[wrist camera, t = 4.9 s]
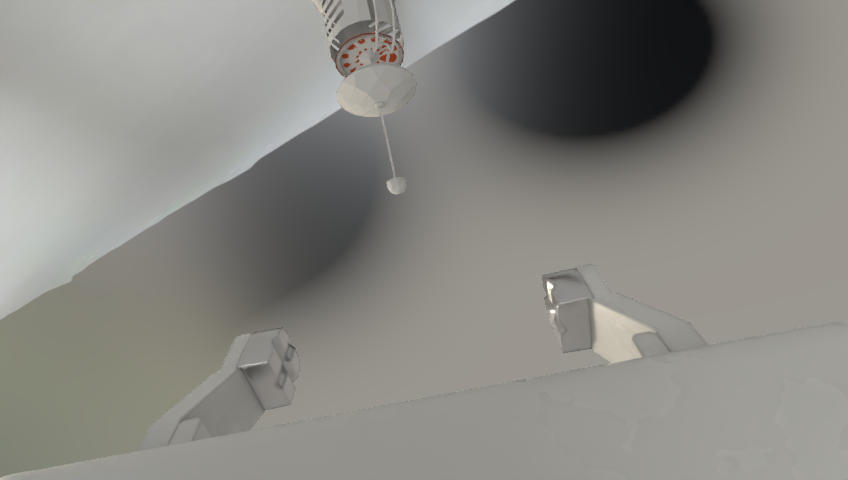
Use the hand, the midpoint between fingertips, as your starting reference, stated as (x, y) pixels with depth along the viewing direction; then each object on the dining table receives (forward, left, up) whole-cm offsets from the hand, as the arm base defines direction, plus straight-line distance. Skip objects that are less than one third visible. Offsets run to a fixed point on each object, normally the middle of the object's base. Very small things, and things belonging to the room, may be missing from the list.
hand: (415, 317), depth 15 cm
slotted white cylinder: (+23, -10, -41) cm, 48 cm away
